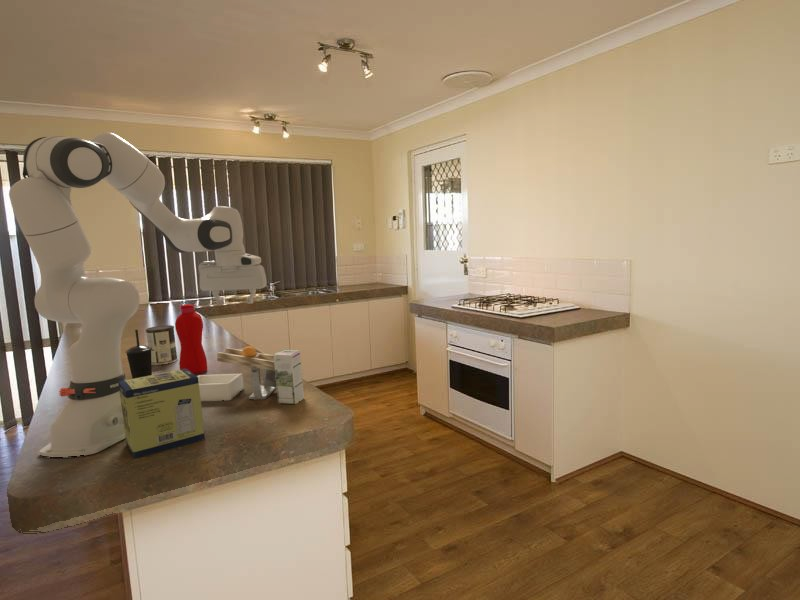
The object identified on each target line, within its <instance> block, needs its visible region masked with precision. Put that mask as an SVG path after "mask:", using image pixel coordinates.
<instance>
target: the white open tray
mask: <svg viewBox="0 0 800 600" xmlns="http://www.w3.org/2000/svg"><path fill="white" fill-rule="evenodd" d="M243 375H244V374H243V373H221V374H217V373H216V374H197V375H196V376H197V377H198V382H199V390H200V399H201V402H217V401H218V402H219V401H222V400H224V401H231V400H233V399H234V398H235V397H236V396H237V395H239V393H241V392H242V391H243V390H244V389H245V387H244V378H243V377H244V376H243ZM240 391H241V392H240ZM233 397H234V398H233Z"/></svg>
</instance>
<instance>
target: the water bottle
mask: <svg viewBox="0 0 800 600" xmlns="http://www.w3.org/2000/svg"><path fill="white" fill-rule="evenodd" d="M179 309H180V312H181V313H180V314H179V315H178V316H177V317H176V320H175V323H174V324H175V325H174V329H175V332H176V334H177V338H178V341H179V343H180V354H179V363H178V364H179V370H181V369H188V370H189V371H190V372H191V373H193V374H194V375H200V374H204V373H206V371H208V361H207V355H206V353H205V348H204V347H203V344H202V343H203V336H204V338H205V339H207V337H206V336H205V335H203V333H205V332H204V329H205V328H204V322H203V320H204V319H203V317H202V316H201V314H199V313H198V312H197V310H196V309H195V306H194V304H190V303H187V304H182V305H180V307H179ZM205 325H206V328H207V331H208V332H210V331H209V327H208V325H207V323H205Z"/></svg>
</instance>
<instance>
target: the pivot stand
mask: <svg viewBox="0 0 800 600" xmlns="http://www.w3.org/2000/svg"><path fill="white" fill-rule="evenodd" d="M260 369H261V370H262V380H263V381H261V371H260ZM250 371H251V379H252V390H253V392H252V393H251V394H250V395H249V396H248V400H249V399H254V400H266V399H268V397H269V396H270V395H271V394H272V393H273V392H274V391H275V390H277V388H276V387H271V386H265V379H266V371H267V369H262V368H257V367H255V366H254V367H251V370H250ZM262 382H263V385H262Z"/></svg>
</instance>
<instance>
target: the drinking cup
mask: <svg viewBox="0 0 800 600" xmlns="http://www.w3.org/2000/svg"><path fill="white" fill-rule="evenodd" d="M134 331H135V340H136V345H133V346H131V347H130V348H128V349H126V350H125V354H126V356H127V361H128V364H129V369H130V374H131V379H135V378H140V377H145V376H150V375H153V373H152V370H153V369H152V366H153V365H152V362H151V350H152V347H149V346H148V345H145V344H140V339H139V338H140V337H139V332H138V331H139V330H138V329H135V330H134Z"/></svg>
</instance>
